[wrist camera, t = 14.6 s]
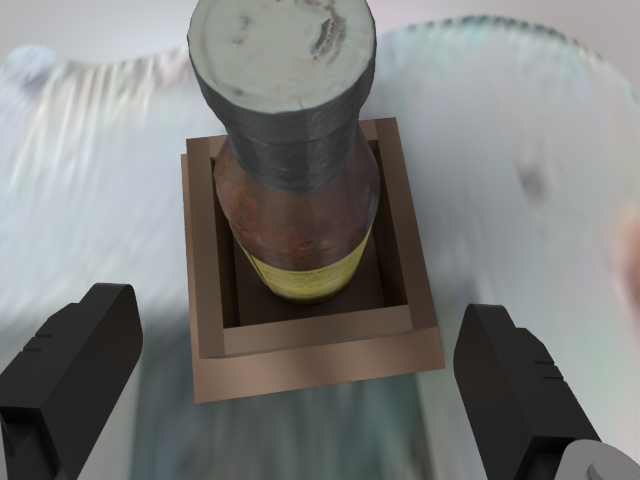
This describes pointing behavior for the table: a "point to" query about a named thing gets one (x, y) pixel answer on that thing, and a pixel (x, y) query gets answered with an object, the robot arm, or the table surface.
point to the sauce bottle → (292, 134)
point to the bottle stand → (302, 320)
